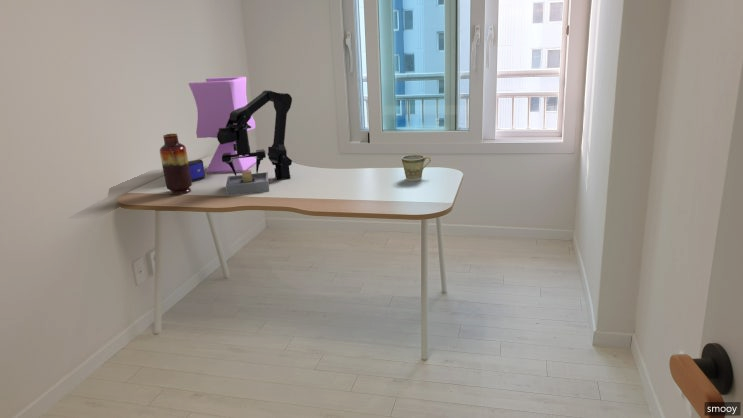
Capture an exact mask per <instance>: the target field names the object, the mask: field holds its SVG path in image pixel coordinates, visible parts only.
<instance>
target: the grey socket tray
mask: <svg viewBox="0 0 743 418" xmlns="http://www.w3.org/2000/svg"><path fill="white" fill-rule="evenodd" d="M251 174H252V181H253V182H249V183H243V177H242V174H239V175H237V174H236V176H235V175H229V176H227V178H226V183H225V189H226V195H227V196H228V197H230V196H237V195H247V194H254V193H255V194H256V193H263V192H270V181H269V180H270V179H269V173H268V172H258V173H256V172H255V173H251Z"/></svg>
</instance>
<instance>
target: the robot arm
mask: <svg viewBox="0 0 743 418" xmlns="http://www.w3.org/2000/svg"><path fill="white" fill-rule="evenodd" d="M269 102H272V103H273V107H274V111H275V119H274V120H275V123H274V131H273V133H274V134H273V142H272V144H271V146H268V149H267V154H266V150H265V149H264V148H263V149H256V150H255V151H253V152H251V147H250V140H249V134H248V133H249V131H247V129H248V128H251V126H250V125H248V124H247V122H248V121H249V120H250V118H251V116H252V117H253V115H254V114H255V113H256V112H257V111H259V110H260V109H261V108H262V107H263V106H265V105H266V104H267V103H269ZM292 102H293V97H292V96H291V95H290V94H289V93H286V92H285V93H284V92H282V93H281V92H275V91H273V90H266V89H265V90H263V91H262V92H261V93H260V94H259V95H257V96H256V97H255V98H253V99H252V100H251V101H250V102H247V103H248V104H247V105H246V106H244V107H241V108H238V109H236V110H234V111H232V112H231V113H230V118H229V120H228V122H227V125H226V127H225V128H219V132H218V134H217V138H216V139H217V141H218V143H219V144H226V143H231V142H234V141H235V143H236V144H233V147H234V151H237V154H233V155H232V154H231V153H223V154H222V162H226V164H229V166H230V167H231V168H232V170H233V172H234V173H233V174H234V176H237V173H236V170H235V166H234V162H233V159H236V158H246V157H254V158H255V159H256V164H255V165H256V166H255V168H256V169H255V173H259V168H260V163H261V162H262V161H263V160H264V159H265V158H266V157H268V160H269V161H270V162H271V165H272V166H274V176H275V177H274V178H276V180H277V181H278V180H288V179H291V171H290V166H292V164H293V163H292V162H293V160H292V159H291V158H290V157H288V156H287V154H288V153H287V151H288V150H287V149H286V148H287V147H286V145H285V138H286V127H287V115H288V113H289V110H290V109H291V107H292ZM235 124H237V125H235ZM239 155H242V156H239ZM245 155H247V156H245ZM266 155H267V156H266Z"/></svg>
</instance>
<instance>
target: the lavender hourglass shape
mask: <svg viewBox="0 0 743 418" xmlns="http://www.w3.org/2000/svg"><path fill="white" fill-rule="evenodd" d="M188 86H189V88H190V91H191V93H192V96H193V98H194V101H195V104H196V109H197V111H196V112H197V121H196V122H197V124H196V133H195V134H196V138H197V139H203V138H204V139H205V138H214V139H217V134H218V132H219V128H225V127H226V125H227V122H228V120H229V118H230V113H231V112H232V111H234V110H236V109H238V108H241V107H244V106H246V105H247V104H248V103H249V102H248V100H247V99H248V97H247V76H227V77H224V76H223V77H210V78H209V77H208V78H205V81H200V82H197V81H196V82H188ZM247 124H248V125H250V126H251V128H248V129H247V132H249V131H252V130H254V129H256V121H255V119H254V117H253V115H252V116H251V118H250V120H249V121H248V122H247ZM235 125H237V124H235ZM233 144H236V143H235V141H234V142H231V143H226V144H220V143H219V144H218V146H217V148H216V150H215V151H214V154H213V156H212V158H211V160H210V161H209V162H210V163H209V164H208V166H207V169H206V174H232V173H233V174H234V172H233V170H232V168H231V167H230V166H229V164H226V162H222V154H223V153H231V154H232V155H233V154H237V151H234V147H233ZM239 156H242V155H239ZM245 156H247V155H245ZM233 162H234V166H235V170H236V174H237V173H239V174H242V171H244V170H250V168H252V167H254V166H255V165H256V157H246V158H236V159H233ZM254 164H255V165H254Z"/></svg>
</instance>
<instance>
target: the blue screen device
mask: <svg viewBox="0 0 743 418" xmlns="http://www.w3.org/2000/svg"><path fill="white" fill-rule="evenodd" d="M188 163H189V169H190V174H191V180H192V183H193V182H196V181H200V180H202V179H205V177H206V172H205V165H204V161H203V160H202V159H195V160H188Z"/></svg>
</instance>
